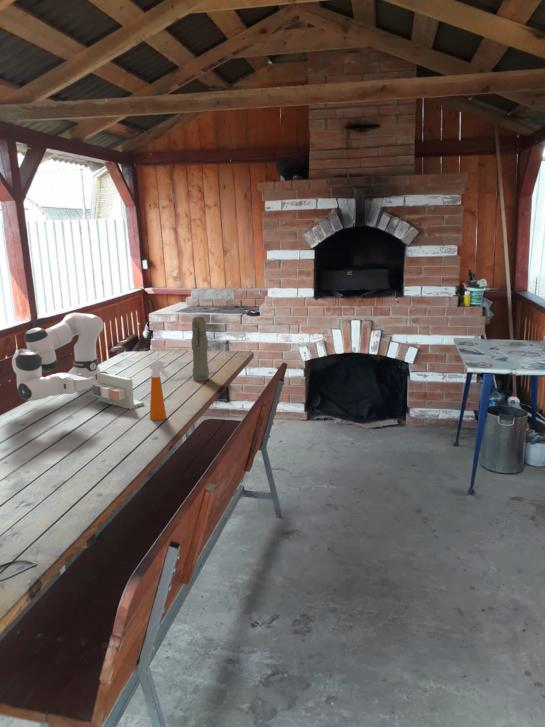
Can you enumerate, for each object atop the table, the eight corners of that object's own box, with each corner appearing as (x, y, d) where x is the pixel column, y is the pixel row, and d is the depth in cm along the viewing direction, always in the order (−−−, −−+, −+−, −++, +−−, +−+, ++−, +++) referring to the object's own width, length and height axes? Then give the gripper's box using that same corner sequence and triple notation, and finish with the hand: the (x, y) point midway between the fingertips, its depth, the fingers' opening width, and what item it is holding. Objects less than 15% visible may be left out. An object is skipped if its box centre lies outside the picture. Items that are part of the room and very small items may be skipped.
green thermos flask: (191, 382, 303) (188, 318, 296) (195, 376, 315) (192, 315, 307) (207, 382, 303) (204, 318, 295) (210, 376, 315) (208, 315, 307)
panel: (98, 400, 270) (96, 372, 267) (112, 396, 276) (110, 369, 273) (130, 409, 256) (128, 380, 253) (144, 405, 262) (142, 376, 259)
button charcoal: (92, 394, 264) (92, 385, 263) (108, 390, 271) (107, 381, 270) (98, 396, 261) (98, 386, 260) (114, 391, 268) (113, 382, 267)
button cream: (102, 396, 260) (101, 387, 259) (117, 392, 266) (116, 383, 265) (108, 398, 257) (107, 388, 256) (123, 394, 264) (122, 384, 263)
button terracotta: (111, 399, 256) (110, 389, 254) (126, 395, 262) (126, 385, 261) (117, 401, 253) (116, 391, 252) (133, 396, 260) (132, 387, 259)
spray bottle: (164, 423, 237) (161, 363, 231) (146, 418, 242) (142, 360, 236) (176, 418, 242) (173, 359, 237) (157, 414, 248) (154, 357, 242)
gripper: (46, 387, 238) (74, 380, 248) (73, 394, 225) (102, 387, 236) (44, 373, 236) (73, 367, 247) (72, 379, 224) (101, 373, 235)
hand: (87, 377), depth 241 cm, fingers open, 8 cm apart
